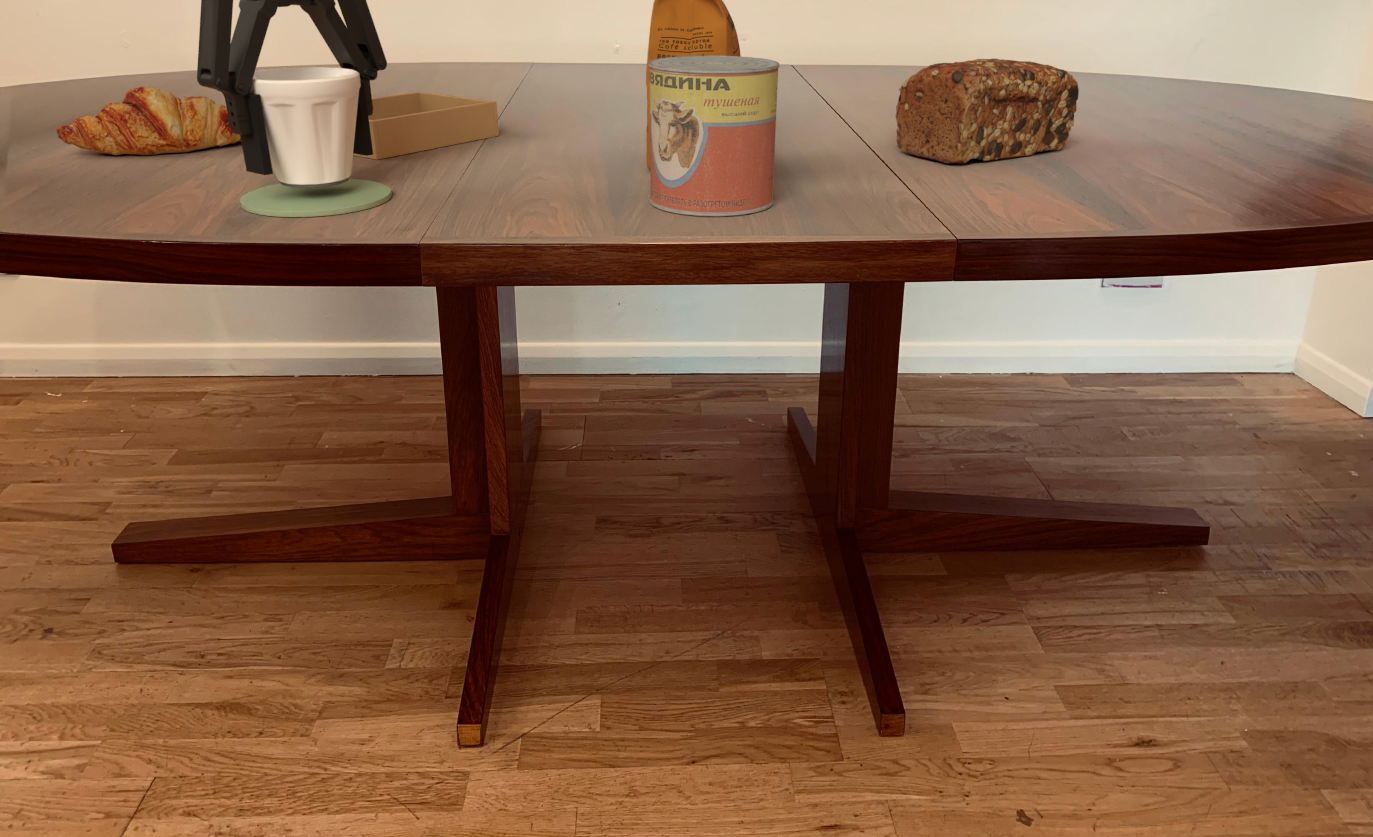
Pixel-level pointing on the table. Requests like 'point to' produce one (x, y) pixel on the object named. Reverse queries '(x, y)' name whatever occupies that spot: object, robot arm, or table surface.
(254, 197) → the mat
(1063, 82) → the bread
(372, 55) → the robot arm
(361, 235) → the table surface
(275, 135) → the cup
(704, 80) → the canned food
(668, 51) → the coffee package
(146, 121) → the croissant
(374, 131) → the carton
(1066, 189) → the table surface
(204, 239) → the table surface
